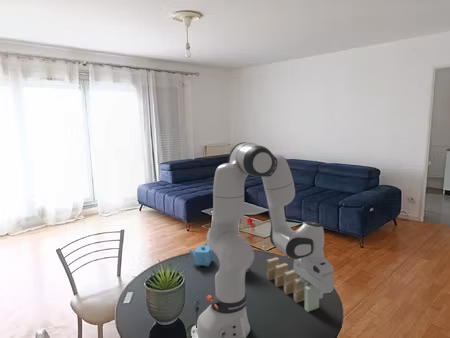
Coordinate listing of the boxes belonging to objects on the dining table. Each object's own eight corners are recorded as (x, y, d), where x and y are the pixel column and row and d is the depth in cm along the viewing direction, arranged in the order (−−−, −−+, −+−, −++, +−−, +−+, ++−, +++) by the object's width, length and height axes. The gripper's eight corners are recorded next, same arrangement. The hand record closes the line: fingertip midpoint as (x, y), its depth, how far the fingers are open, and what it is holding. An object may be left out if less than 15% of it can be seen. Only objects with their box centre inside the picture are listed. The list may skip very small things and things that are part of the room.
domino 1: (279, 277, 153) (279, 258, 152) (269, 280, 151) (268, 261, 149) (276, 275, 155) (276, 257, 153) (266, 278, 152) (266, 259, 151)
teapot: (212, 271, 161) (211, 253, 159) (186, 270, 163) (185, 253, 161) (217, 256, 179) (216, 239, 177) (193, 255, 180) (192, 239, 179)
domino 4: (307, 299, 135) (307, 277, 133) (296, 302, 132) (296, 281, 130) (304, 296, 136) (304, 275, 135) (293, 300, 134) (293, 279, 132)
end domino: (318, 307, 128) (319, 285, 127) (307, 311, 126) (308, 289, 124) (315, 305, 130) (316, 283, 128) (304, 309, 128) (304, 287, 126)
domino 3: (297, 291, 141) (297, 270, 139) (286, 294, 138) (286, 274, 137) (294, 289, 143) (294, 269, 141) (283, 292, 140) (283, 272, 138)
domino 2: (287, 283, 147) (287, 264, 145) (277, 287, 144) (277, 267, 143) (285, 281, 149) (285, 262, 147) (274, 285, 146) (274, 265, 145)
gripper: (290, 252, 132) (289, 281, 135) (324, 273, 114) (323, 307, 116) (301, 249, 135) (301, 278, 137) (337, 269, 117) (336, 302, 119)
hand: (311, 291), depth 127 cm, fingers open, 8 cm apart
